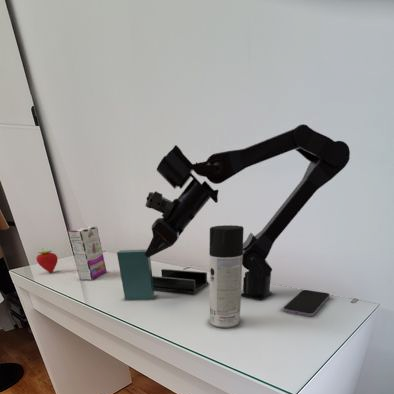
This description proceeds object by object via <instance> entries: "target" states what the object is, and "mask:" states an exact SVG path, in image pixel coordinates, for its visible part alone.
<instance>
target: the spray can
mask: <svg viewBox="0 0 394 394" xmlns="http://www.w3.org/2000/svg"><path fill="white" fill-rule="evenodd" d="M244 230H245V229H244V226H242V225H233V224H232V225H231V224H230V225H225V224H224V225H215V226H211V227H210V228H209V249H208V251H209V253H208V254H209V322H210V324H211V325H212V326H213V327H215V328H219V329H230V328H235V327H236V326H237V325H238V324H239V323H240V321H241V300H242V296H241V294H242V282H243V279H242V278H243V275H242V274H243V265H242V259H243V243H244Z"/></svg>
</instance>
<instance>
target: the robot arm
mask: <svg viewBox="0 0 394 394" xmlns="http://www.w3.org/2000/svg"><path fill="white" fill-rule="evenodd" d="M294 150H295V152H297V153H298V154H299V155H301V156H302V157H303V158H304V159H306V160H307V161H308V162H309V164H308V166H307V168H306V170H305V172H304V175H303V176H302V178H301V180H300V182H299V183H297V185H296V186H295V188H294V189H293V190H292V192H291V193H290V194H289V196H288V197H287V198H286V200H285V201H284V202H283V203H282V204H281V206H280V207H279V208H278V209H277V211H276V212H275V213H274V214H273V216H272V217H271V218H270V219H269V221H268V222H267V223H266V225H265V226H264V227H263V228H262V229H261V230H260V231H259V232H258V233H256V234H253V233H252V232H250V233H249V234H248V236H247V237H246V239H245V240H244V241H243V259H242V267H243V268H244V269H245V270H247V271H245V272H244V276H243V277H242V278H243V279H242V291H243V292H241V297H245V298H248V299H249V298H250V299H254V300H259V301H262V300H264V299H266V298H267V297H269V296H271V295H272V294H273V292H272V291H270V290H271V278H272V271H273V268H272V267H271V265H270V263H269V262H268V261H267V260H266V259H267V258H268V256H269V254H270V252H271V249H272V247H273V245H274V244H275V242H276V240H277V239H278V238H279V237H280V235H281V234H282V233H283V232H284V230H286V228H287V227H288V226H289V224H291V222H292V221H293V220H294V218H295V217H296V216H297V215H298V214H299V213H300V211H301V210H302V209H304V206H305V205H306V204H307V203H308V202H309V200H310V199H311V198H312V197H313V196H314V194H315V193H316V192H317V191H318V190H319V189H320V188H322V187H323V186H325V185H326V184H327V183H328V182H330V181H331V180H333V178H335V177H336V176H337V175H338V174H339V173H340V172H341V171H342V170H344V169H345V167H346V166H347V165H348V163H349V162H350V159H351V158H350V157H351V151H350V147H349V145H348V144H347V143H346V142H345V141H344V140H343V141H342V140H336V141H335V140H333V139H332V138H330V137H329V136H327V135H324V134H322V133H320V132H319V131H316V130H314V129H313V128H311V127H310V126H308V125H307V124H299V125H298V126H296V127H294V128H292V129H290V130H287V131H285V132H282V133H280V134H277V135H274V136H272V137H270V138H267V139H265V140H262V141H260V142H258V143H254V144H252V145H249V146H247V147H245V148H241V149H234V150H233V149H231V150H227V151H221V152H215V153H212V154H211V155H210V156H209V157H208V158H207V159H206V161H200V162H197V161H196V162H195V163H192V162H191V161H190V159H189V158H188V157H187V156H186V155H185V154H184V153H183V151H182V149H180V147H179V146H178V145H177V144H175V145H174V146H173V148H172V149H171V150H170V151H168V153H167V154H166V155H164V156H163V157H162V159H161V160H160V161H159V164H158V165H157V167H156V172H157V173H158V174H159V175H160V176H161V177H162V178H163V179H164V180H165V181H166V182H167V183H168V184H169V185H170V186H171V187H172V188H173V189H174V190H176V189H177V188H179V189H180V190H182V192H181V194H180V195H179V196H178V197H177V198H174V199H173V200H170V199H168V198H167V197H164V196H163V193H160V192H158V191H157V190H156V191H154V192H153V191H150V192H148V195H147V196H146V202H145V208H148V209H151V210H154V211H157V212H158V213H161V217H158V218H157V219H155V221H154V222H153V223H152V225H151V232H152V239H151V241H150V243H149V245H148V246H147V248H146V249H147V251H146V253H145V256H146V257H147V258H149V257H150V258H151V257H152V256H154V255H156V254H158V253H160V252H162V251H165V250H166V249H168V248H171V247H173V246H174V245H175V243H176V242H177V241H178V239H179V238H180V236H181V234H182V233H183V232H184V231H185V229H186V228H187V226H189V224H190V223H191V222H192V221H193V220H194V219H195V217H196V216H197V214H198V213H199V212H200V211H201V210H202V209H203V207H204V206H205V205H206V204H207V203H208V202H209V200H210V199H211V200H212V201H213V202H214V203H215V204H216V203H218V202H219V200H218V195H219V192H220V191H219V189H213V188H212V186H211V185H210V184H209V183H208V182H207V181H206V180H204V181H203V182H202V183H201V181H199V180H198V179H197V177H196V176H195V175H194V174H196V175H197V176H199V177H203V178H206V179H207V180H208V181H209V182H210V183H212V184H214V185H220V184H223V183H224V182H226V181H227V180H229V179H230V178H232V177H233V176H235V175H237V174H238V173H240V172H242V171H244V170H245V169H247V168H250V167H252V166H255V165H257V164H260V163H263V162H265V161H268V160H270V159H273V158H276V157H278V156H281V155H283V154H286V153H289V152H291V151H294ZM192 172H194V174H193V173H192ZM191 178H192V179H191ZM190 179H191V180H190ZM189 180H190V182H189ZM188 182H189V183H188ZM187 183H188V184H187ZM186 185H187V186H186ZM185 186H186V187H185ZM184 187H185V188H184ZM183 188H184V190H183Z"/></svg>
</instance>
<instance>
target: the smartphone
mask: <svg viewBox="0 0 394 394" xmlns="http://www.w3.org/2000/svg"><path fill="white" fill-rule="evenodd" d="M330 297H331V296H330V293H328V292H324V291H323V292H322V291H316V290H309V289H302V290H301V291H300V292H298V293H297V295H295V296H294V297H293V298H292V299H291V300H290V301H289V302H287V303H286V304H285V305H284V306H283V309H282V311H283V312H285V313H288V314H293V315H299V316H304V317H314V316H315V314H316V313H318V311H319V310H320V309H321V307H323V305H324V304H325V303H326V302H327V301H328V299H329V298H330Z"/></svg>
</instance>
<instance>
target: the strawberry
mask: <svg viewBox="0 0 394 394" xmlns="http://www.w3.org/2000/svg"><path fill="white" fill-rule="evenodd" d="M36 262H37V264H38V265H39V266H40V267H41V268H42V269H43V270H45V271H47V273H49V274H50V273H53V272H54V270H55V268H56V266H57V264H58V256H57V254H56V253H54V252H52V250H44V248H42V250H41V251H38V255H37V256H36Z"/></svg>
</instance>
